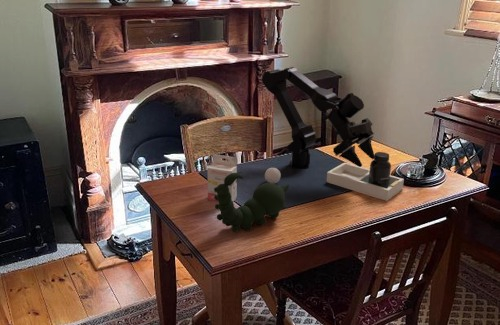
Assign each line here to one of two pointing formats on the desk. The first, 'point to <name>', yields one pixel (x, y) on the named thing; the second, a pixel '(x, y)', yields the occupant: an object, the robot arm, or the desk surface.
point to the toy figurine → (249, 204)
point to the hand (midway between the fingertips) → (367, 162)
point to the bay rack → (362, 181)
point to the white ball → (272, 175)
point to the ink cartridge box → (221, 175)
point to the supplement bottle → (380, 170)
